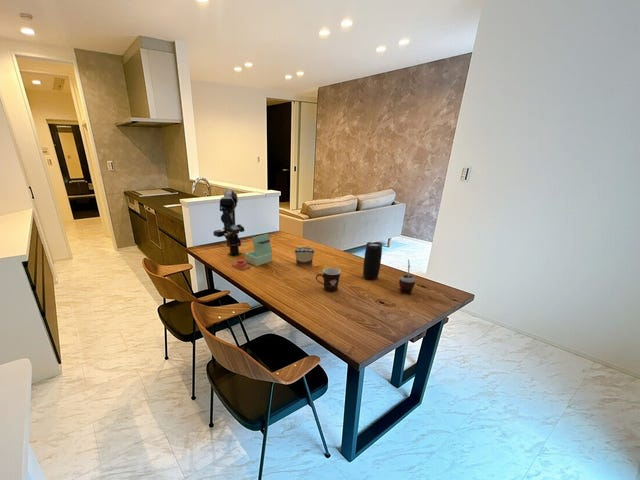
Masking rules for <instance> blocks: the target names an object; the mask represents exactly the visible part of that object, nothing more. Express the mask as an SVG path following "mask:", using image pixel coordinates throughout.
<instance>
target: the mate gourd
mask: <svg viewBox="0 0 640 480" xmlns="http://www.w3.org/2000/svg"><path fill="white" fill-rule="evenodd" d="M407 264H408V265H407V274H404V275H402V276H400V278H399V281H398V284H399V290H400V294H404V293H406V294H408V295H411V294H412V291H413V288H414V287H415V285H416V279H415V277H414V276H412V275H410V269H411V265H410V259H407Z"/></svg>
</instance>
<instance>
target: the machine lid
mask: <svg viewBox="0 0 640 480" xmlns="http://www.w3.org/2000/svg"><path fill="white" fill-rule="evenodd" d="M270 238H271V237H270V234H269V233H265V234H261V235H257V236H252V237H251V240H252V244H253V249H254V250H253V251H255V255H256V257H260V256H263V255H266V254H270V253H272V254H273V250H272V243H271V240H270Z"/></svg>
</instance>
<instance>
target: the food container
mask: <svg viewBox="0 0 640 480" xmlns="http://www.w3.org/2000/svg"><path fill="white" fill-rule="evenodd" d="M293 254H295V263H296V266H311V267H312V266H313V259H314V254H315V249H314V248H312V247H308V246H300V247H296V248H294V253H293Z"/></svg>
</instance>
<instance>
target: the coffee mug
mask: <svg viewBox="0 0 640 480" xmlns="http://www.w3.org/2000/svg"><path fill="white" fill-rule="evenodd" d="M341 271H342V270H340V269H339V268H335V267H327V268H324V269H323V270H322V273H319V274H317V275H316V276H315V280H316V282H318V283H319V284H321V285H323V289H324V291H326V292H327V293H335V292H337V291H338V287H339V282H340V278H341ZM319 276H320V277H322V278H323V282H321V281H320V280H318V277H319Z"/></svg>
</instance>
